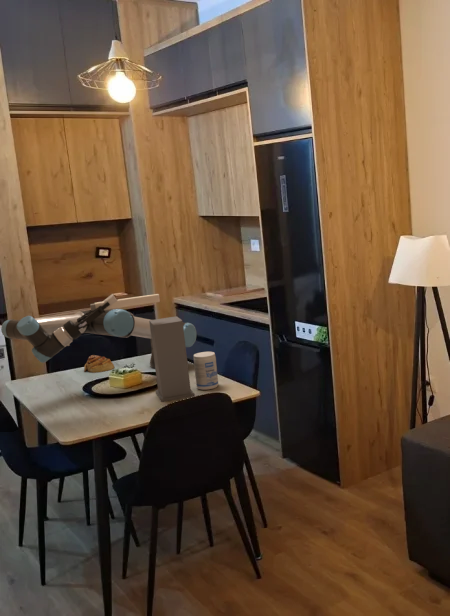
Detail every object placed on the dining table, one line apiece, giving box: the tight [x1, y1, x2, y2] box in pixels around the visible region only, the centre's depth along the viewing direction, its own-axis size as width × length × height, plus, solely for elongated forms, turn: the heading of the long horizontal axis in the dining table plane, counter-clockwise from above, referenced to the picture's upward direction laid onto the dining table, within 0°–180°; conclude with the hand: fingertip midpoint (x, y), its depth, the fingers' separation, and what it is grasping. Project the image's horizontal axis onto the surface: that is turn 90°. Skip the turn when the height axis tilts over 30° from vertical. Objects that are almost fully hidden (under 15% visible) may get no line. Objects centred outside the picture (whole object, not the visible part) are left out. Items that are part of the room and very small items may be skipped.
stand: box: [149, 315, 195, 403], centre depth 271 cm, size 14×14×32 cm
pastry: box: [83, 354, 115, 374], centre depth 330 cm, size 13×15×8 cm
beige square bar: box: [89, 293, 161, 311], centre depth 263 cm, size 3×28×3 cm, turn 105°
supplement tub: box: [193, 351, 219, 391], centre depth 278 cm, size 10×10×15 cm
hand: (114, 297), depth 262 cm, fingers closed on beige square bar, 3 cm apart
